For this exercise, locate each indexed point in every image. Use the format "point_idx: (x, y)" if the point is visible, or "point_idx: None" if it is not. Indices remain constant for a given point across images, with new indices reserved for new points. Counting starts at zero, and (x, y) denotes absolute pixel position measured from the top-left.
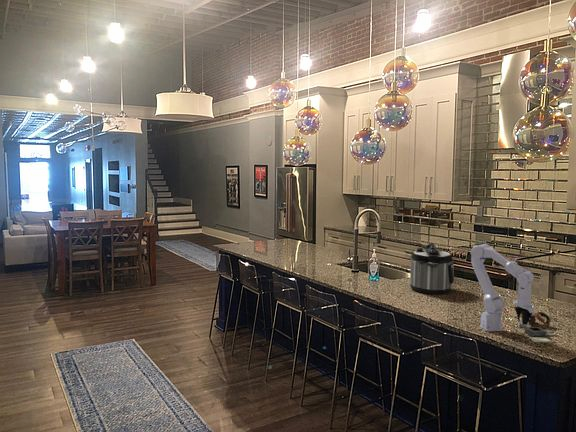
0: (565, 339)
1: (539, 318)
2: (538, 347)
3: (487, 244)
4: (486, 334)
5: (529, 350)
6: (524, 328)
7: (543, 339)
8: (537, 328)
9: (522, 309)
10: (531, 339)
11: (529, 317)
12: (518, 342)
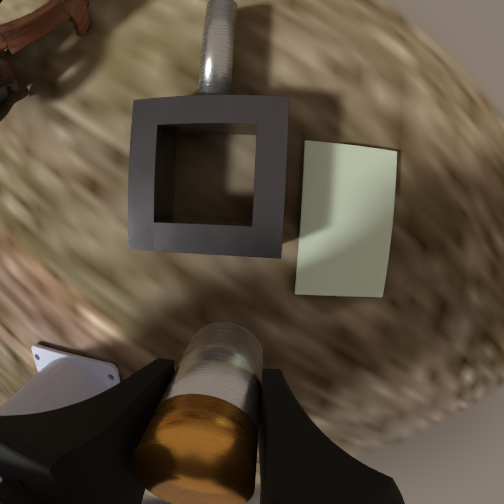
0: (345, 5)
1: (25, 31)
2: (456, 325)
3: None
4: None
5: (462, 395)
6: (262, 358)
7: (354, 189)
8: (167, 125)
9: (101, 502)
10: (334, 295)
11: (316, 434)
12: (347, 402)
